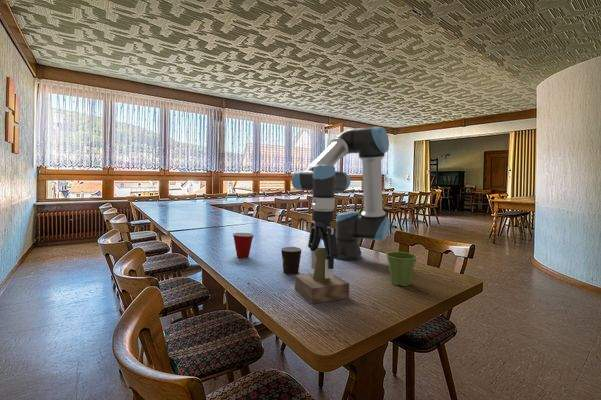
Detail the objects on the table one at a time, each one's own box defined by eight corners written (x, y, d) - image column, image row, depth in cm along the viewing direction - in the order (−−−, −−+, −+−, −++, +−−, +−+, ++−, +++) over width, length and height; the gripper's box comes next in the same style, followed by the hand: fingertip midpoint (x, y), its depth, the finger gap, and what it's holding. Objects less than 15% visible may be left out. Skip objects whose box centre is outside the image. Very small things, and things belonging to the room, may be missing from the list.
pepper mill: (311, 276, 111) (312, 246, 110) (328, 276, 111) (329, 246, 110) (314, 282, 105) (314, 250, 104) (331, 281, 105) (332, 250, 104)
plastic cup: (258, 256, 156) (258, 232, 155) (243, 260, 147) (244, 236, 146) (242, 253, 162) (242, 230, 161) (227, 257, 153) (227, 233, 152)
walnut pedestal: (328, 284, 117) (328, 271, 117) (348, 297, 104) (349, 283, 104) (294, 288, 112) (295, 275, 111) (311, 303, 99) (312, 288, 98)
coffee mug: (298, 276, 126) (299, 252, 125) (278, 274, 128) (278, 250, 127) (304, 268, 137) (304, 246, 137) (285, 266, 139) (285, 244, 138)
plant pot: (421, 283, 120) (423, 255, 119) (407, 291, 112) (409, 260, 111) (393, 276, 128) (395, 249, 128) (378, 282, 120) (380, 254, 119)
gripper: (299, 206, 115) (298, 265, 116) (329, 214, 94) (327, 284, 96) (317, 206, 118) (316, 263, 119) (350, 213, 97) (348, 281, 99)
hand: (321, 272), depth 107 cm, fingers open, 10 cm apart
